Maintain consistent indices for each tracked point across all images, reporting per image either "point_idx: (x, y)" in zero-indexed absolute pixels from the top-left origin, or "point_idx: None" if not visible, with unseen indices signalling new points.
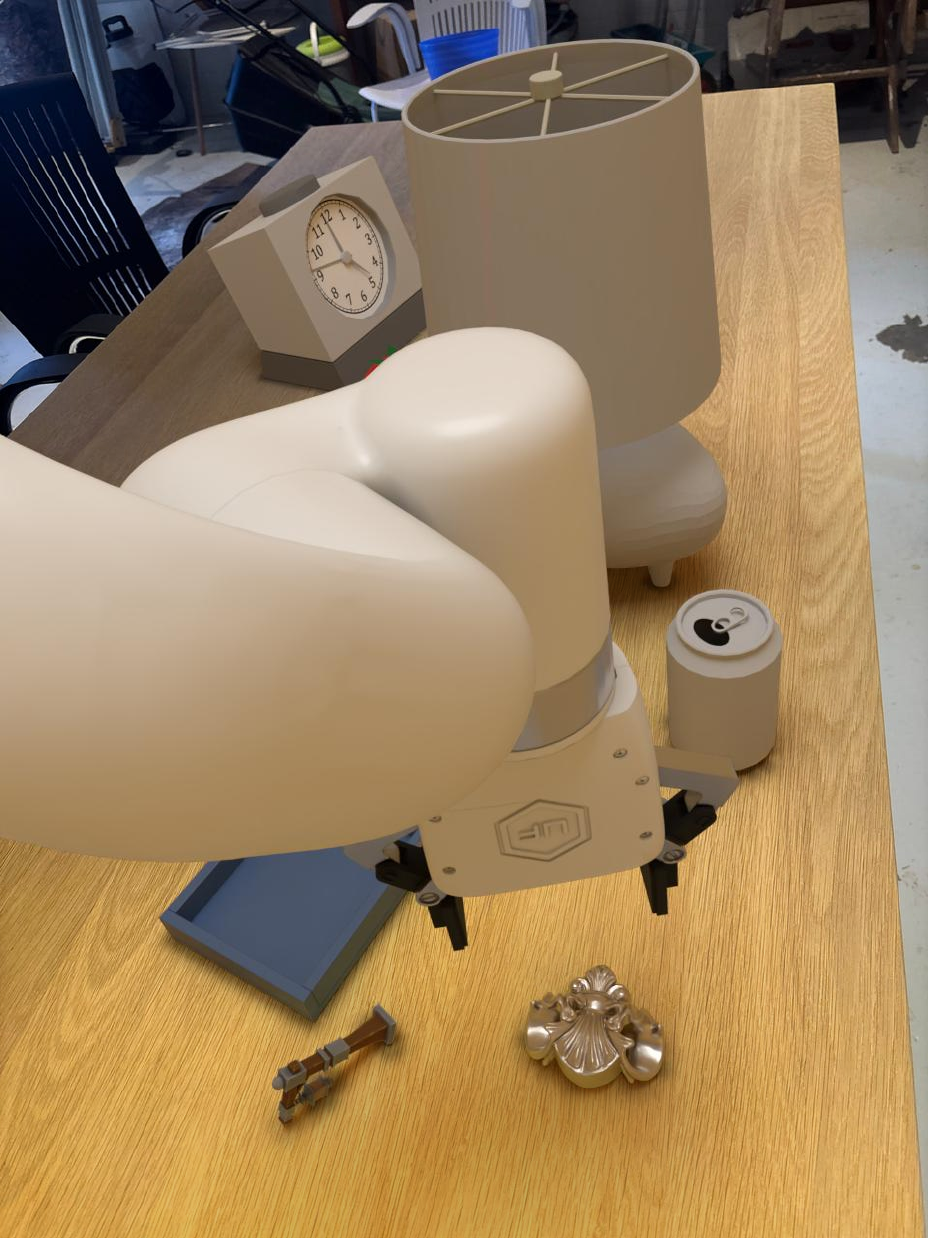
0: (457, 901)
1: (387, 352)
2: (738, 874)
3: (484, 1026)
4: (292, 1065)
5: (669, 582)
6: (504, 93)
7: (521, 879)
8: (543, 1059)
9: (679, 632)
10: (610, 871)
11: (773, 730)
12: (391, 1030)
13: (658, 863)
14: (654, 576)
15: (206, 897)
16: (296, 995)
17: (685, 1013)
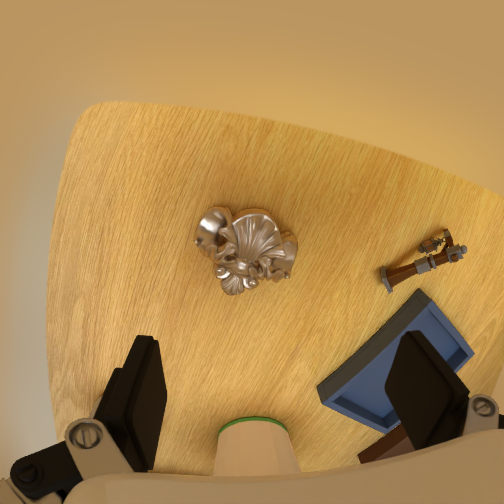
0: (430, 396)
1: None
2: (125, 335)
3: (321, 268)
4: (456, 259)
5: None
6: None
7: (420, 489)
8: (288, 235)
9: None
10: (194, 490)
11: (92, 410)
12: (384, 274)
13: (116, 426)
14: None
15: (448, 363)
16: (434, 305)
17: (176, 251)
